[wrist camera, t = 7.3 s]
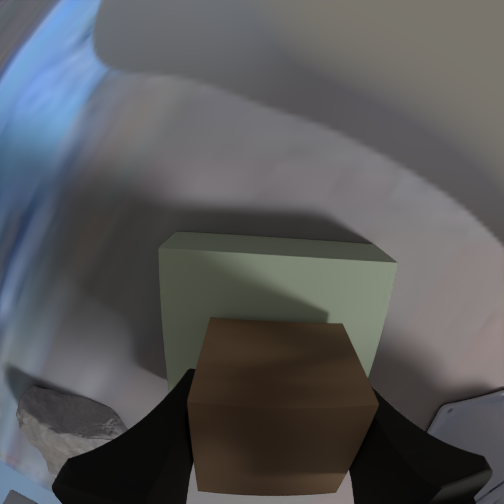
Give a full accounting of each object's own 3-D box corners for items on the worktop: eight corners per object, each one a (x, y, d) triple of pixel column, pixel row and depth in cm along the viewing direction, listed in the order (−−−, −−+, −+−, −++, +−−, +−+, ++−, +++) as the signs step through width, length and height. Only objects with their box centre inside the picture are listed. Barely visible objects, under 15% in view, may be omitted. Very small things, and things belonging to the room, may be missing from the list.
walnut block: (342, 323, 13) (379, 404, 8) (319, 413, 14) (335, 492, 9) (210, 316, 13) (187, 401, 8) (211, 410, 14) (198, 490, 9)
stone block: (130, 389, 21) (21, 377, 19) (123, 436, 16) (1, 416, 14) (152, 467, 25) (63, 457, 23) (152, 505, 20) (55, 491, 18)
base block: (374, 244, 15) (398, 262, 12) (339, 395, 18) (350, 427, 15) (176, 231, 15) (158, 247, 12) (182, 388, 18) (173, 421, 15)
